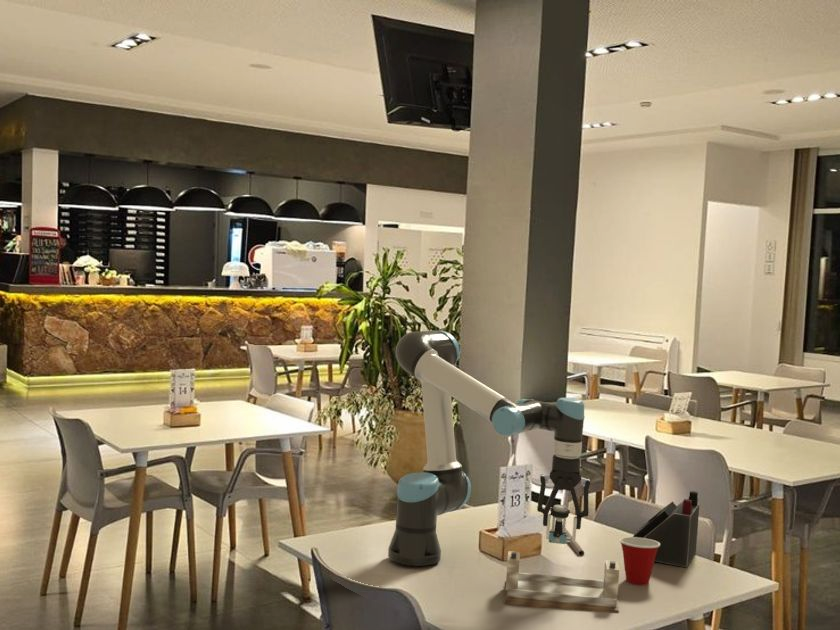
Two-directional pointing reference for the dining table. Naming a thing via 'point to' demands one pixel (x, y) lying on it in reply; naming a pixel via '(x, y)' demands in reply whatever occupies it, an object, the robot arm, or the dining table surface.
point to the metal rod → (574, 543)
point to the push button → (559, 524)
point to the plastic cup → (638, 558)
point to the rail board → (561, 589)
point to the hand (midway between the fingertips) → (560, 538)
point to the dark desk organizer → (674, 531)
